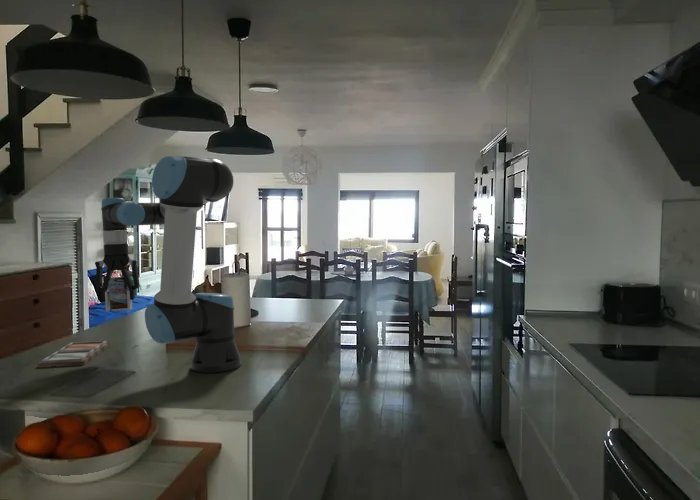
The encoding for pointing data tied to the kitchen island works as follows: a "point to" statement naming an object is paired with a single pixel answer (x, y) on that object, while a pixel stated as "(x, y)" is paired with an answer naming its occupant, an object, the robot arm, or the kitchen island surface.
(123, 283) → the beverage can
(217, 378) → the kitchen island surface
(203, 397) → the kitchen island surface
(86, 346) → the framed panel board
